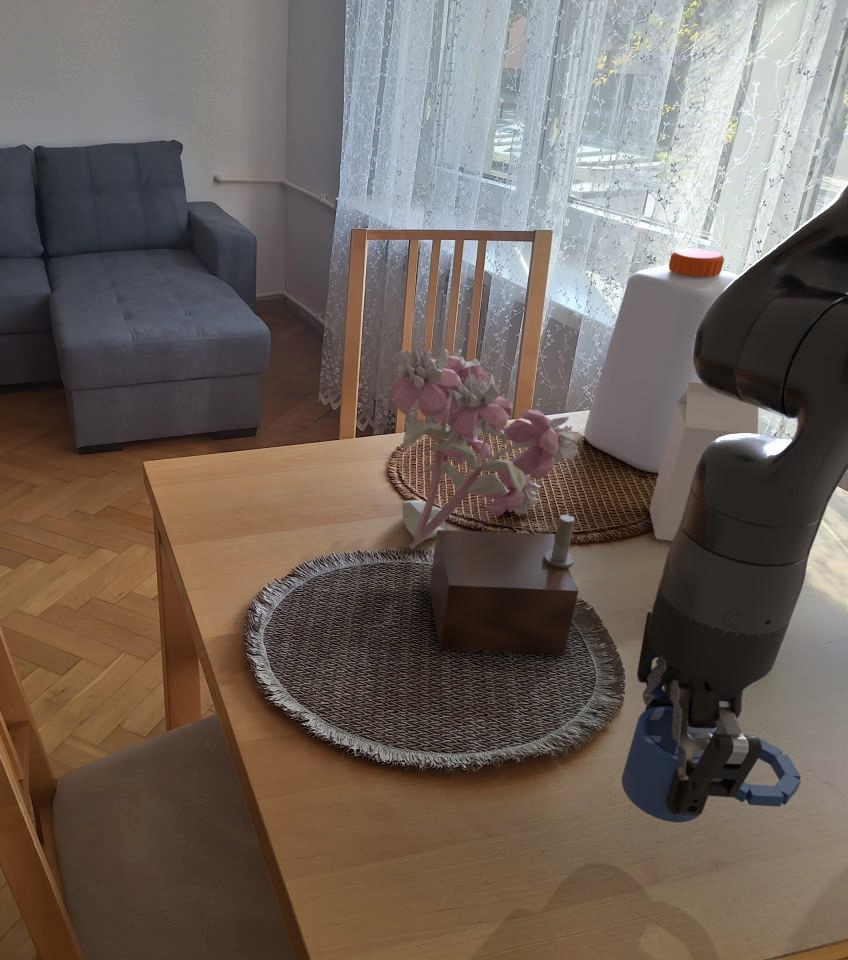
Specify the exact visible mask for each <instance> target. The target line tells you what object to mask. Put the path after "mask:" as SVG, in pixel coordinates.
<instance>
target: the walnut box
mask: <svg viewBox="0 0 848 960" xmlns="http://www.w3.org/2000/svg"><path fill="white" fill-rule="evenodd" d="M557 522H558V523H557V527H556V533H555V534H554V533H530V532H529V533H528V532H527V533H526V532H504V531H500V532H499V531H478V530H477V531H475V530H474V531H473V530H452V529H451V530H447V529H445V530H437V533H436V536H435V544H434V551H433V559H432V565H431V566H432V567H431V575H430V583H429V595H430V600H431V605H432V610H433V611H432V612H433V615H434V621H435V626H436V632H437V637H438V644H439V647H440V650H456V651H475V652H477V651H478V652H495V653H512V654H513V653H514V654H531V655H533V654H534V655H553V656H564V655H565V654H566V653H565V652H566V648H567V644H568V639H569V635H570V631H571V626H572V622H573V617H574V612H575V608H576V605H577V599H578V595H579V589H578V586H577V585H576V582H575V579H574V578H573V575H572V573H571V571H570V568H571V567H573V565H574V563H575V558H574V556H573V555H572V554H570V553H569V550H570V549H569V548H570V545H571V539H572V535H573V530H574V525H575V522H576V519H575V517H574V516H572V515H570V514H561V515H559V518H558V521H557Z"/></svg>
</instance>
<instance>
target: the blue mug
mask: <svg viewBox="0 0 848 960" xmlns="http://www.w3.org/2000/svg"><path fill="white" fill-rule="evenodd" d="M672 722H673V707H671V706H658V707H653V708H650V709H648V710H646V711H645V710H644V711H643V712H641V714H640V715H639V717H638V719H637V722H636V726H635V729H634V733H633V737H632V740H631V743H630V747H629V750H628V754H627V758H626V761H625V765H624V768H623V771H622V776H621V786H622V790H623V791H624V793H625V795H626V796H627V798H628V799H629V801H630V802H632V804H634V805H635V807H637V809H639V810H641V811H642V812H644V813H645V814H647V815H649V816H650V817H653V818H656V819H659V820H661V821H666V822H670V823H687V822H691V821H693V820H695V819H697V818H698V817H699V816H696V815H694V816H693V815H677V814H671V813H670V812H669V810H668V808H667V805H666V799H667V795H668V792H669V789H670V786H671V783H672V780H673V777H674V774H675V771H676V770H677V762H678V747H679V746H678V745H677V744H676V743H675V742H674V741H673V739H672ZM716 729H717V728H712V729H707V728H693V727H689V726H688V733H704V734H711V733H714V732H715V731H716ZM743 734H744V735H745V736H749V734H748V733H747V732H743ZM752 736H755V735H752ZM758 738H759V739H760V741H761V745H762V752H761V755H760V756H759V758H758V760H760V761H763V762H764V763H765V764H768V765H769V766H770V767H771V768H772V770H773V772H774V774H775V776H776V777H777V779H778V781H777V783H776V784H775V785H768V784H749V783H748V782H747V781H744V782H743V784H742V785H741V787H740V789H739V790H738V792H737V794H736V795H735V797H733V798H734V799H736V800H737V801H739V802H740V803H744V802H745V801H746V802H747V804H748V805H749V806H760V807H761V806H762V807H778V808H780V807H781V806H782V805H783V806H785V805H787V803H788V802H789V801H790V800H791V799H792V797H793V796H794V795H795V794H796V792H797V791H798V789H799V788H800V785H801V783H802V781H801V778H802V777H801V774H800V773H799V771H798V769H797V768H796V766H795V764H794V763H793V762H792V760H791V758H790V757H789V755H788V754H784V753H783V750H782V749H780V748H779V747H777V746H774V745H773V744H772V743H770V742H767V741H765V740H763V739H762V738H760V737H758ZM704 751H705V750H696V751H694V753H693V763H698V762H699V760H700V758H701V756H702V754H703V752H704ZM707 800H708V799H707ZM707 800H706V803H705V805H706V804H707V802H708V801H707Z"/></svg>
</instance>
